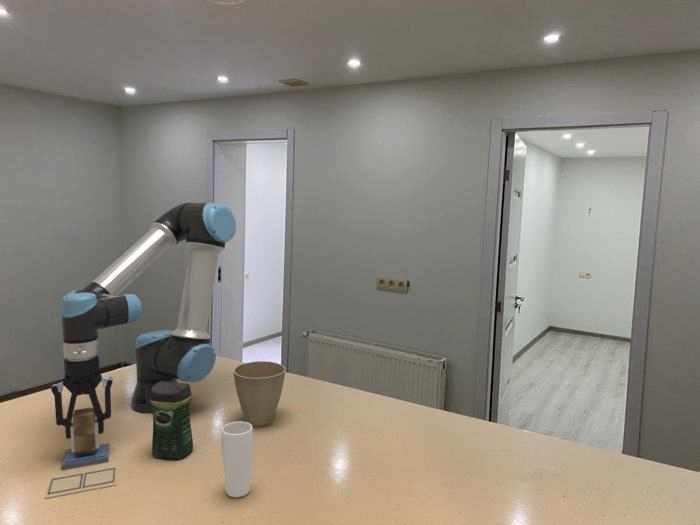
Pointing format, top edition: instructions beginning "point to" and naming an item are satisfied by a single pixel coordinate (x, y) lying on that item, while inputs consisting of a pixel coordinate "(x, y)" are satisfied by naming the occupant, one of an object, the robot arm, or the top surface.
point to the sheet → (81, 481)
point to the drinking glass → (237, 457)
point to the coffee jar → (171, 420)
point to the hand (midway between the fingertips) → (85, 447)
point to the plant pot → (259, 390)
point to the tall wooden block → (84, 431)
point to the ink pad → (86, 458)
